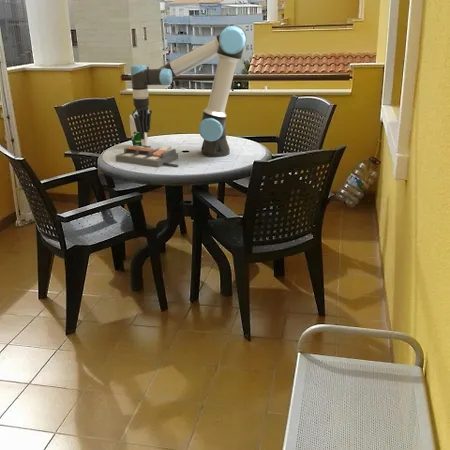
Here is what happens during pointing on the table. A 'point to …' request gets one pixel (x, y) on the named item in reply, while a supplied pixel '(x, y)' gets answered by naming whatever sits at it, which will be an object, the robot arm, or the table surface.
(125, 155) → the power strip
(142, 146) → the rocker
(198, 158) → the table surface
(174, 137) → the table surface
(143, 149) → the middle rocker
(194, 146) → the table surface
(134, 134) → the milk carton
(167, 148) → the rocker
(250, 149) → the table surface
